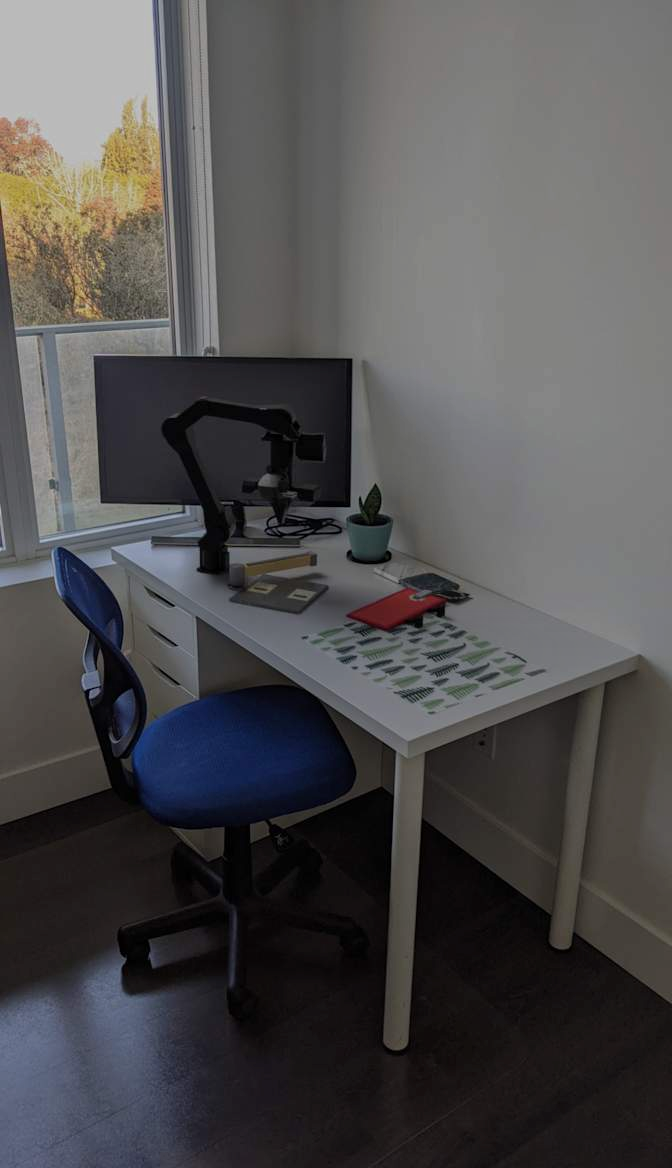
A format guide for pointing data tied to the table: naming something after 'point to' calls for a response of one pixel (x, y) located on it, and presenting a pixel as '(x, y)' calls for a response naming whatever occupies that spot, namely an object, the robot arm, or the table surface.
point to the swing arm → (270, 566)
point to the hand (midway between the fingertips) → (280, 523)
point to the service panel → (278, 593)
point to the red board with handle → (404, 608)
